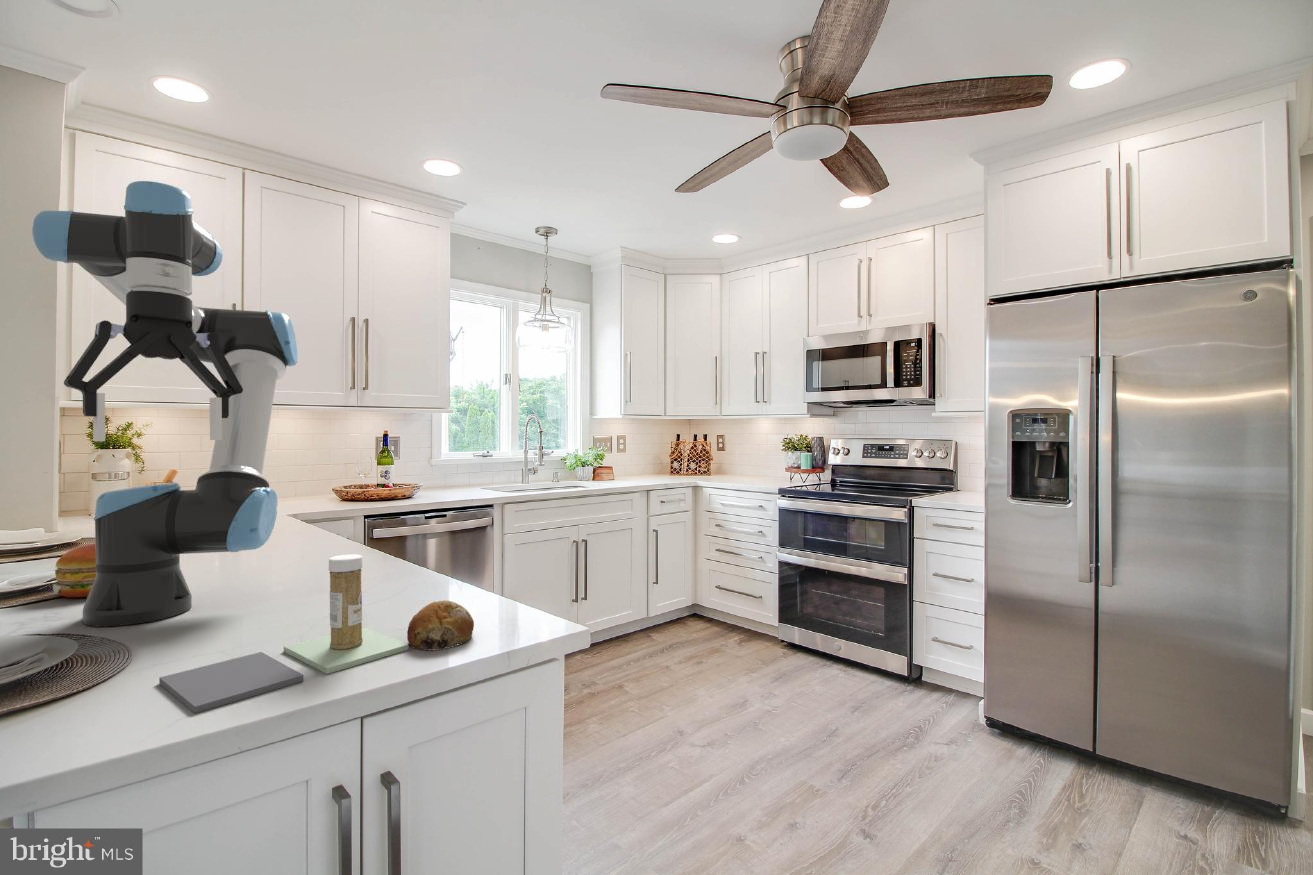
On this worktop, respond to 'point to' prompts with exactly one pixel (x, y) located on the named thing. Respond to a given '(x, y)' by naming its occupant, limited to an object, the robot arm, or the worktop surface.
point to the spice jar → (345, 601)
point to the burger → (76, 572)
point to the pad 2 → (344, 651)
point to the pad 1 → (229, 681)
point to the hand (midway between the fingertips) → (160, 440)
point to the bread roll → (440, 626)
